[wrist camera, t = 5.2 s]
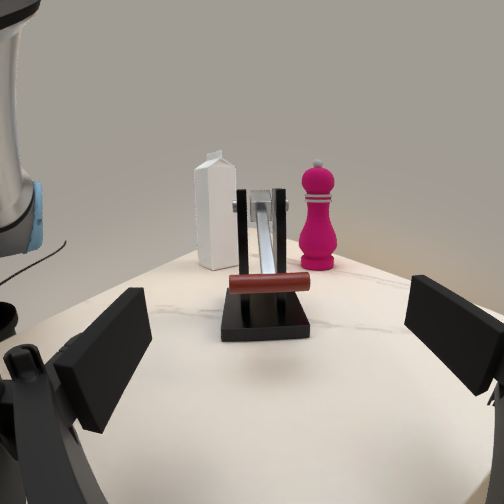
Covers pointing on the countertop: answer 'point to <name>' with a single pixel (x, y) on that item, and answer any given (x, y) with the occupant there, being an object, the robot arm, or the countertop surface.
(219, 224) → the milk
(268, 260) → the lever
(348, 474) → the countertop surface
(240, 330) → the black lever stand
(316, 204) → the pepper mill
